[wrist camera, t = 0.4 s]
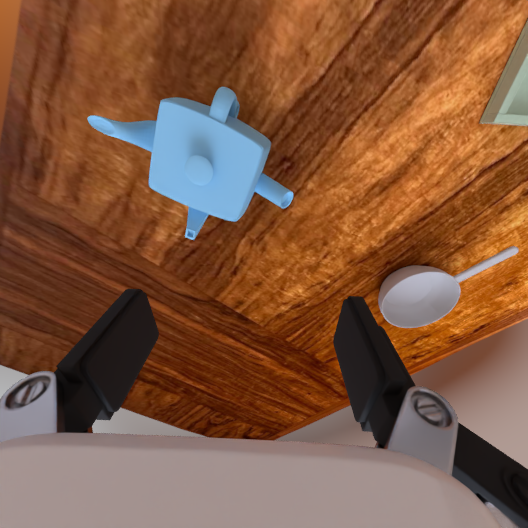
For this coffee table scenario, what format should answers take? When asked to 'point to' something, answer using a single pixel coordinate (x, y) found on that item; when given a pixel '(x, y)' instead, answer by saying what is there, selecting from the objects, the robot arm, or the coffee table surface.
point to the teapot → (202, 157)
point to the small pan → (426, 292)
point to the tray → (511, 89)
